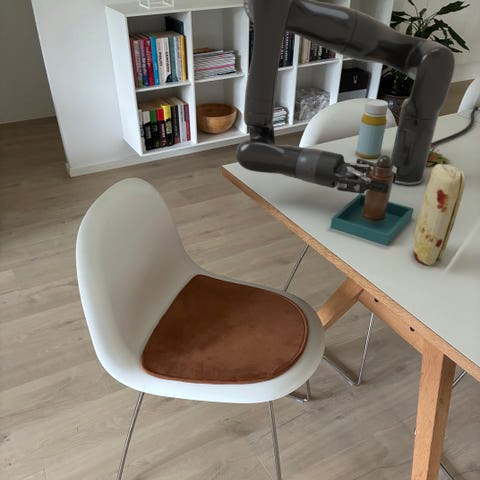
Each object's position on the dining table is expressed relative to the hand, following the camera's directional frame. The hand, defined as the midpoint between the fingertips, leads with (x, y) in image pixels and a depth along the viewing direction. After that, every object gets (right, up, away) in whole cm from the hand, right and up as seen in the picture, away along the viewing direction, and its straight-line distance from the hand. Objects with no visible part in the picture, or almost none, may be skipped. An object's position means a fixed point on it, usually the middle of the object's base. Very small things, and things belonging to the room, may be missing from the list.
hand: (392, 183), depth 114 cm
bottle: (+5, +19, +42) cm, 46 cm away
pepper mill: (-2, -6, +6) cm, 9 cm away
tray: (-3, -8, +8) cm, 11 cm away
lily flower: (+22, +17, +39) cm, 48 cm away
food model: (+6, -17, -3) cm, 18 cm away
